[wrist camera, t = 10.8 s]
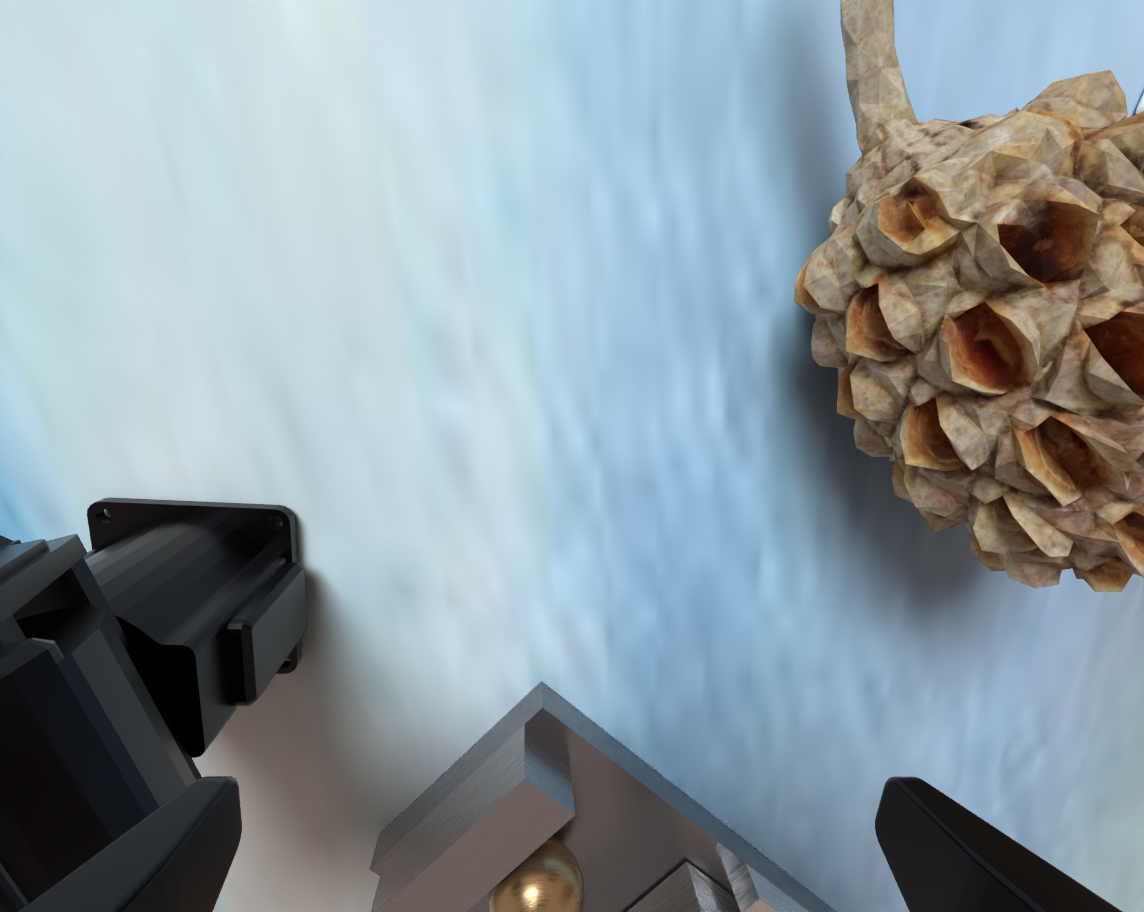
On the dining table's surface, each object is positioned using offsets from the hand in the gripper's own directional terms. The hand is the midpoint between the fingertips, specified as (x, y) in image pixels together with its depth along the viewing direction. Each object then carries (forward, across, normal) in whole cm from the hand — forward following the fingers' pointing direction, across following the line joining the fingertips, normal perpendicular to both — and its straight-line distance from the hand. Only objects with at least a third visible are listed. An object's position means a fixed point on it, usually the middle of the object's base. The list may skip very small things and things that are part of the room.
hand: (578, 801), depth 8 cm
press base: (+13, -9, +21) cm, 26 cm away
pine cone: (+13, -10, -10) cm, 19 cm away
